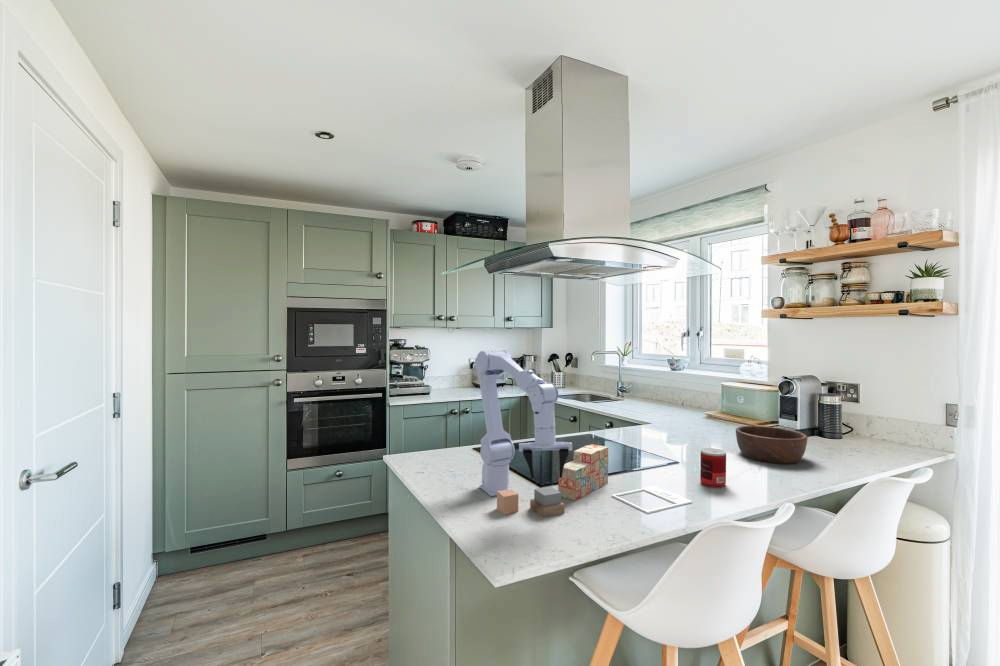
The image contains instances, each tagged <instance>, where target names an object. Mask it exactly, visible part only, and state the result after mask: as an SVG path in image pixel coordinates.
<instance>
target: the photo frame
mask: <svg viewBox="0 0 1000 666" xmlns="http://www.w3.org/2000/svg"><path fill="white" fill-rule="evenodd" d="M640 492H646V493H649V494H650V493H651V495H652V496H656V497H658V498H660V499H663V500H665V501H668V502H670V503H672V504H670V505H667V506H666V505H665V506H661V507H657V508H653V509H649V510H647V509H645V508H642V507H641V506H639V505H636V504H635V503H632V502H630V501H628V500H626V499H624V498H621V496H625V495H630V494H636V493H640ZM611 497H612V498H614V499H616V500H617V501H620V502H622V503H624V504H627V505H628V506H630V507H633V508H634V509H636V508H637V509H636V510H638V509H639V510H638V511H640V512H643V513H645V514H647V515H648V514H652V513H653V514H654V513H656V512H657V513H658V512H661V511H666V510H670V509H673V508H677V507H682V506H685V504H686V505H689V503H690V504H692V503H693V500H691V499H687V498H685V497H684V496H680V495H679V494H676V493H673V492H670V491H668V490H666V489H663V488H660V487H659V486H655V485H654V486H648V487H643V488H638V489H634V490H633V489H632V490H629V491H625V492H620V493H619V492H618V493H614V494H611Z"/></svg>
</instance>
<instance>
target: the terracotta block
mask: <svg viewBox="0 0 1000 666" xmlns="http://www.w3.org/2000/svg"><path fill="white" fill-rule="evenodd" d="M496 510H498V511H499V512H500V513H502V515H508V514H513V513H519V493H517V491H515V490H514V489H512V488H511V489H508V490H502V491H497V495H496Z"/></svg>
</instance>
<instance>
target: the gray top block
mask: <svg viewBox="0 0 1000 666" xmlns="http://www.w3.org/2000/svg"><path fill="white" fill-rule="evenodd" d="M533 493H534V495H533V496H534V497H533V499H534V500H536V501H537V502H538V503H540V504H541V505H543V506H550V505H555V504H561V502H562V497H561V492H559V491H558V489H556V488H555V487H553V486H546V487H540V488H539V487H538V488H534V491H533Z"/></svg>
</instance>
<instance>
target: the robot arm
mask: <svg viewBox="0 0 1000 666" xmlns="http://www.w3.org/2000/svg"><path fill="white" fill-rule="evenodd" d="M474 363H475V369H476V376H477V378H478V382H479V389H480V394H481V401H482V406H483V415H484V420H485V427H486V433H485V434H484V436H483V437H482V438H481V439H480V452H479V453H480V457H481V460H482V461H483V464H482V466H481V484H480V485H479V486H478V487H479V488H480V489H481V490H483V491H484V492H485V493H486V494H488V495H489V496H490V497H495V496H497V491H502V490H508V489H512V488H510V482H509V481H510V463H512V459H513V458H514V456H515V453H516V452H515V451H516V450H515V444H514V443H513V441H512V436H511V434H510V433H508V432H507V431H506V430H504V425H503V420H502V419H503V418H502V413H501V411H502V410H501V407H500V406H501V405H500V401H499V393H498V387H497V386H498V385H497V380H498V379H499V378H501V377H502V376H503V374H504V373H506V374H508V375H509V376H511V377H512V378H514V380H515V383H516V386H517V387H519V388H520V389H521V390H522V391H523V392H525V393H526V394H527V395H528V399H529V402H530V403H531V409H532V411H533V422H534V423H533V426H534V430H533V431H534V442H533V441H531V442H519V443H518V452H523V453H522V455H523V458H524V459H525V462H526V464H527V466H528V469H529V472H530V478H531V479H535V472H534V463H533V462H534V460H533V457H534V456H533V451H534V452H536V451H538V452H539V451H542V452H543V451H558V462H559V463H558V464H559V466H558V477H560V478H562V473H563V468H564V464H566V463H567V458H568V457H569V454H570V452H569V451H573V443H572V442H571V441H569V442H568V441H556V416H555V403H556V402H557V401H558V398H559V390H558V387H557V386H556V385H555V383H553V382H550V381H549V382H546V381H544V379H542V378H540V377H539V376H538V375H536V374H535V373H534V370H533V369H523V368H522V367H521V366H520V365H519V364H518V363H517V362H515V360H514V359H513V358H512V355H511V353H509V352H508V351H506V350H504V349H503V350H496V351H492V350H489V351H487V350H486V351H485V350H481V351H479V352H478V353H477V356H476V357H475V360H474Z"/></svg>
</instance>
